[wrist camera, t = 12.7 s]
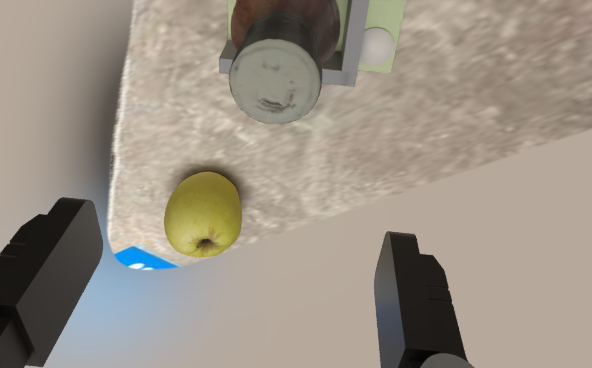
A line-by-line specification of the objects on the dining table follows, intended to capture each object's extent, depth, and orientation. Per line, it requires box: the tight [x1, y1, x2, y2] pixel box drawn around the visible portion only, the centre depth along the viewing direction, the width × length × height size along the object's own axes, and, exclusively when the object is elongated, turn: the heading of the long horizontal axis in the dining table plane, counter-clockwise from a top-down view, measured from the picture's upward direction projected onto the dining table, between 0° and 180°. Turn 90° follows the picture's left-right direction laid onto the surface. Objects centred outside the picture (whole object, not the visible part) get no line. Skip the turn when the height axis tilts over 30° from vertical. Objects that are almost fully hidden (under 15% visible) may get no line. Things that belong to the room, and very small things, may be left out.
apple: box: [164, 172, 242, 257], centre depth 47 cm, size 8×8×10 cm
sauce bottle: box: [229, 0, 341, 124], centre depth 28 cm, size 6×6×20 cm
